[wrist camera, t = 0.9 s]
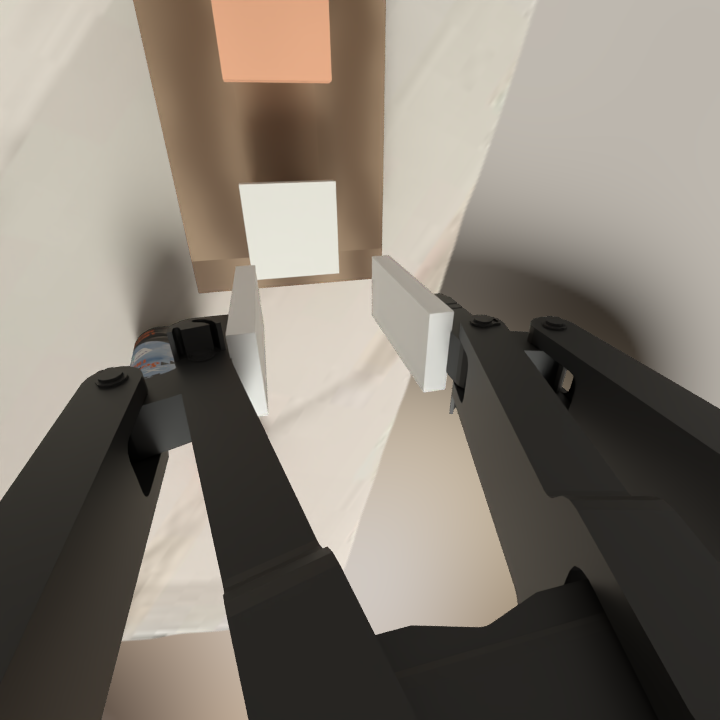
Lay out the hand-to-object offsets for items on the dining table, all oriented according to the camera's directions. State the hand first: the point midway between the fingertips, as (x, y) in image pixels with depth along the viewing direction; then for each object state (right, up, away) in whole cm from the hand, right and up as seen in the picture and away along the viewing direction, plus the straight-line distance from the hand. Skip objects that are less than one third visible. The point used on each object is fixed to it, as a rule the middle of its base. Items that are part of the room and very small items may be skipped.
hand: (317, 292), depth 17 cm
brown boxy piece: (-6, +17, +18) cm, 25 cm away
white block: (-5, +10, +18) cm, 21 cm away
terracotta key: (-5, +20, +12) cm, 24 cm away
